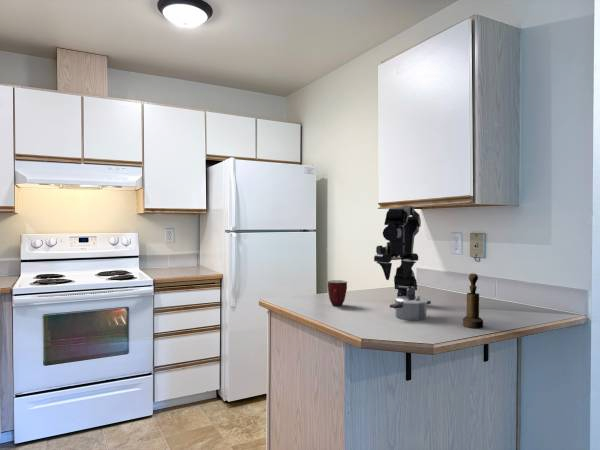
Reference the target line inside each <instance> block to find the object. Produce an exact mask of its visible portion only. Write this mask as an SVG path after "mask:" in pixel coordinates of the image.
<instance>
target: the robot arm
mask: <svg viewBox="0 0 600 450" xmlns="http://www.w3.org/2000/svg"><path fill="white" fill-rule="evenodd" d="M421 224H422V221H421V217H420V214H419V213H418V212H417V211H416V210H415V207H414V206H412V205H409V206H408V205H407V206H406V205H403V206H401V207H399V208H398V207H397V208H394V207H393V208H391V207H390V208H389V209H388V210H387V212H386V215H385V219H384V226H385V227H384V229H383V230H382V236H383V238H384V239H385V240H386V241H387V242H386V246H383V245H376V248H375V253H376V254H375V255H374V256H373V262H376V264H379V266H380V268H382V271H383V274H384V277H385V280H386V281H389V280H390V276H391V273H392V272H391V271H392V264H393V263H392V262H391V261H399V260H400V265H399V267H396V270H395V275H394V277H393V282H394V283H393V284H394V290H397V293H396V297H399V296H407V287H415V291H418V282H417V281H418V280H417V279H416V276H415V273H414V271H413V266H414V265H415V264H416V263H417V261H419V254H418V253H415V252H414V244H415V237H416V235H417V234H418V233H419V231H420V227H421Z"/></svg>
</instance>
